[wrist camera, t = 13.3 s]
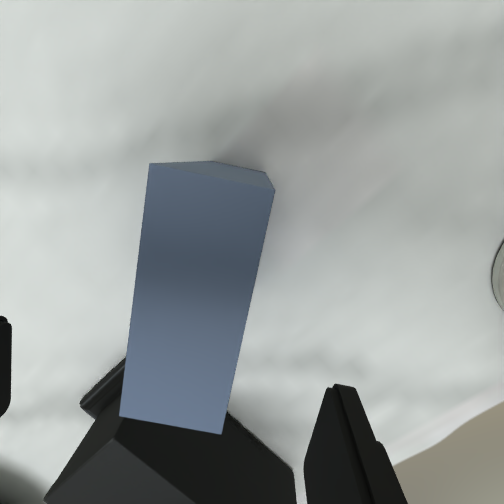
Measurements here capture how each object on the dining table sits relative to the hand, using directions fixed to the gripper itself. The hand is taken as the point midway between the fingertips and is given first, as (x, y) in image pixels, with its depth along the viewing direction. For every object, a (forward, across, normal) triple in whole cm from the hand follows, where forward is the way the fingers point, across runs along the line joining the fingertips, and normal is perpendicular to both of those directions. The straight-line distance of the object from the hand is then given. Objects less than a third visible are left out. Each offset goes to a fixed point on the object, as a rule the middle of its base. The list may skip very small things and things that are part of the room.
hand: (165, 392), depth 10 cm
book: (+23, +1, 0) cm, 23 cm away
